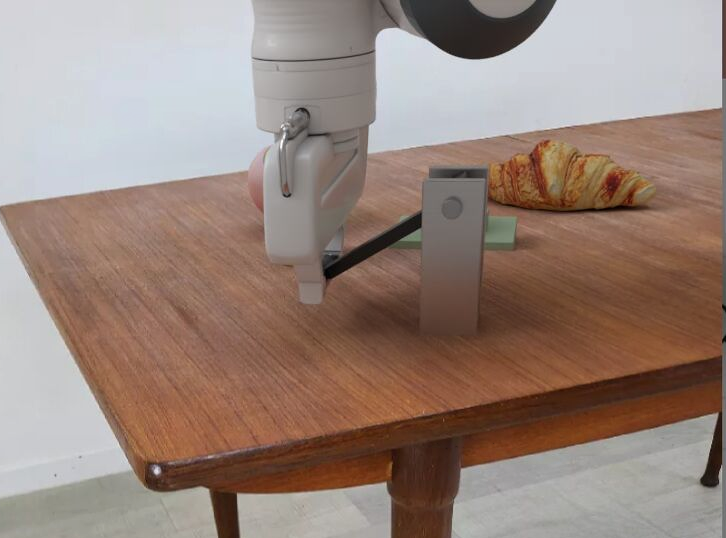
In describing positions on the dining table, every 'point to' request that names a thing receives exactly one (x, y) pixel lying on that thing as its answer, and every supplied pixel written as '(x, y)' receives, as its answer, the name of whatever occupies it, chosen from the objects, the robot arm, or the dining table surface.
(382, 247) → the lever
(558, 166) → the croissant
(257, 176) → the decorative fruit
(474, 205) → the bracket
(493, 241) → the block
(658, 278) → the dining table surface
